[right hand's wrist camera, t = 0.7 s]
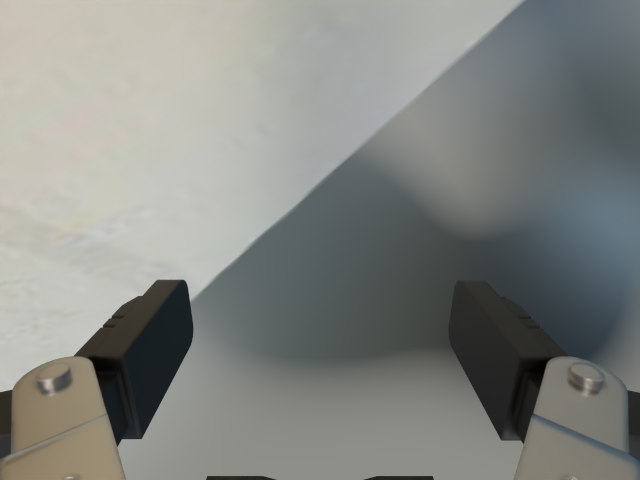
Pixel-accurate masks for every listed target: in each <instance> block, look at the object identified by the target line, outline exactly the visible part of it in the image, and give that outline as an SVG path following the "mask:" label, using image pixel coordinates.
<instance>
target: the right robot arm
mask: <svg viewBox="0 0 640 480" xmlns="http://www.w3.org/2000/svg"><path fill="white" fill-rule="evenodd" d="M192 338H193V321H192V314H191V307H190V300H189V293H188V286H187V283H186V282H185V280H157V281H156V282H155V283H154V284H153V285H152V286H151V287H150V288H149V289H148V290H147V291H146V293H145V294H144V295H143V296H138V297H136V298H134V299H132V300H131V301H129V302H127V303H126V304H124V305H122V306H121V307H120V308H119V309H118V310H117V311H116V312H115V313H114V314H113V316H112V318H111V319H109V320H108V321H107V322H106V323H105V324H104V325H103V328H100V329H99V330H98V331H97V332H96V333H95V334H94V335H93V336H92V337H91V338H90V339H89V341H88V342H87V343H86V344H85V345H84V346H83V347H82V348H81V349H80V350H79V351H78V352H77V353H76V354H75V355H74V356H72V357H64V358H59V359H56V360H52V361H50V362H47V363H45V364H42V365H40V366H38V367H36V368H34V369H33V370H31V371H30V372H28V373H27V374H25V375H24V376H23V377H22V378H21V379H20V380H19V381H18V382H17V383H16V384H15V386H14V388H13V390H9V391H4V392H0V480H126V477H125V473H124V470H123V466H122V463H121V459H120V456H119V452H118V449H117V447H118V445H119V443H120V442H121V440H122V439H142V437H143V435H144V433H145V432H146V430H147V428H148V426H149V424H150V422H151V420H152V418H153V416H154V414H155V412H156V411H157V409H158V407H159V405H160V403H161V401H162V399H163V397H164V395H165V393H166V392H167V390H168V388H169V386H170V384H171V382H172V380H173V378H174V376H175V374H176V373H177V371H178V369H179V367H180V365H181V363H182V361H183V359H184V357H185V355H186V353H187V352H188V350H189V348H190V346H191V342H192ZM449 339H450V343H451V346H452V348H453V350H454V352H455V354H456V356H457V358H458V360H459V362H460V363H461V365H462V367H463V369H464V371H465V373H466V375H467V377H468V379H469V381H470V382H471V384H472V386H473V388H474V390H475V392H476V394H477V396H478V397H479V399H480V401H481V403H482V405H483V407H484V409H485V411H486V413H487V414H488V416H489V418H490V420H491V422H492V424H493V426H494V428H495V429H496V431H497V433H498V435H499V437H500V439H501V440H521V441H522V443H523V444H524V445H523V449H522V452H521V456H520V459H519V463H518V466H517V470H516V473H515V477H514V480H640V393H638V392H633V391H628V390H627V388H626V386H625V384H624V383H623V382H622V381H621V380H620V379H619V378H618V377H617V376H616V375H615V374H613V373H612V372H610V371H609V370H607V369H606V368H604V367H602V366H600V365H598V364H595V363H593V362H590V361H587V360H584V359H581V358H576V357H569V356H568V355H567V354H566V353H565V352H564V351H563V350H562V349H561V348H560V347H559V346H558V345H557V344H556V343H555V341H554V340H553V339H552V338H551V337H550V336H549V335H548V334H547V333H546V332H545V331H544V330H543V329H540V326H539V325H538V324H537V323H536V322H535V321H534V320H533V319H531V317H530V316H529V315H528V314H527V313H526V312H525V310H524V309H523V308H522V307H521V306H519V305H517V304H516V303H514V302H512V301H511V300H509V299H507V298H505V297H500V296H499V295H498V294H497V293H496V292H495V291H494V290H493V288H492V287H491V286H490V285H489V284H488V283H487V282H486V281H484V280H459V281H457V282H456V284H455V287H454V293H453V301H452V307H451V314H450V321H449ZM206 480H275V479H271V478H268V477H264V476H207V479H206ZM365 480H434V479H433V476H376V477H372V478H369V479H365Z"/></svg>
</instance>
